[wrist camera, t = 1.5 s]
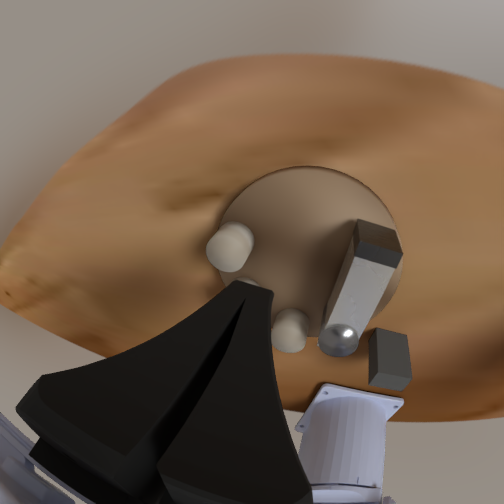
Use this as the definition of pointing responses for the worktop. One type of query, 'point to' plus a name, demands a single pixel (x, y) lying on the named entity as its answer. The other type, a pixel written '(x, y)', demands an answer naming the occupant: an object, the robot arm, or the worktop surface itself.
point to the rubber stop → (389, 360)
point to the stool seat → (296, 243)
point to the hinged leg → (358, 287)
